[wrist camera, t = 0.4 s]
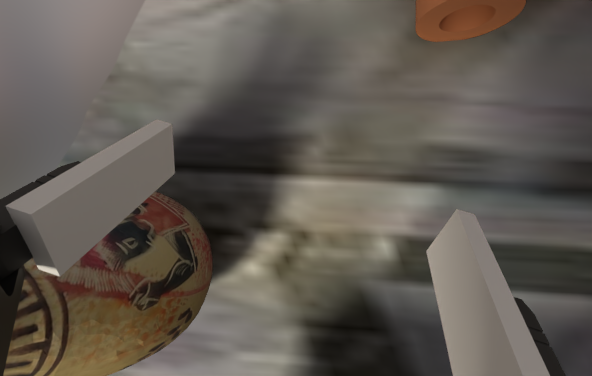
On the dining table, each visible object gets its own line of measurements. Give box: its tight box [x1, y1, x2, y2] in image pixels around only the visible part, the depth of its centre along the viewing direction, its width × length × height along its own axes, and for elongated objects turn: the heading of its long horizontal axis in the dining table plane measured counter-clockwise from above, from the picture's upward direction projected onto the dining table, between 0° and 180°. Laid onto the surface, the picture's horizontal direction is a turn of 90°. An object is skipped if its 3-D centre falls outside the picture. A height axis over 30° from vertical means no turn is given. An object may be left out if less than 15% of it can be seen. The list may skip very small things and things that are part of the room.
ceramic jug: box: [3, 192, 213, 376], centre depth 19 cm, size 17×15×30 cm
